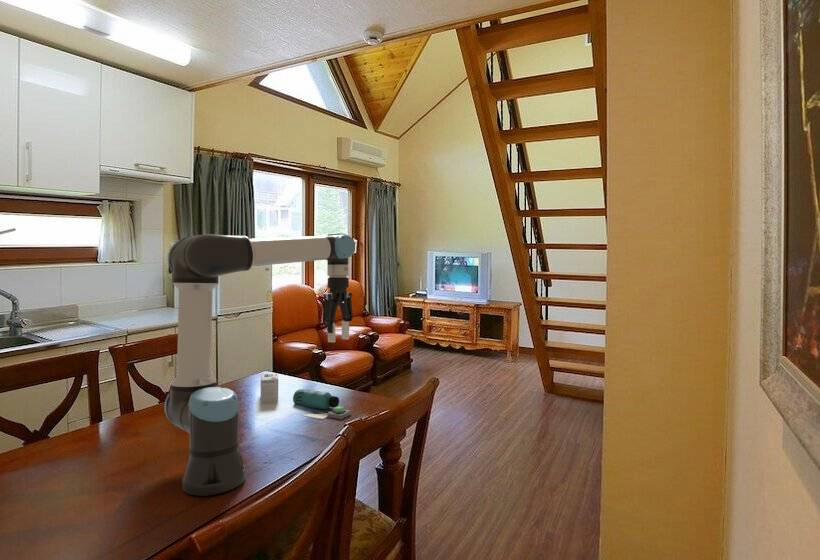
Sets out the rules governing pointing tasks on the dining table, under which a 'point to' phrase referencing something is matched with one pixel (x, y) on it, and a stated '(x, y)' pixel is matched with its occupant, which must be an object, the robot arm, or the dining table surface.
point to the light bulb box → (269, 388)
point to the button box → (339, 416)
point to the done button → (339, 409)
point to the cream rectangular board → (316, 416)
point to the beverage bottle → (315, 399)
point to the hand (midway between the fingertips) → (338, 340)
